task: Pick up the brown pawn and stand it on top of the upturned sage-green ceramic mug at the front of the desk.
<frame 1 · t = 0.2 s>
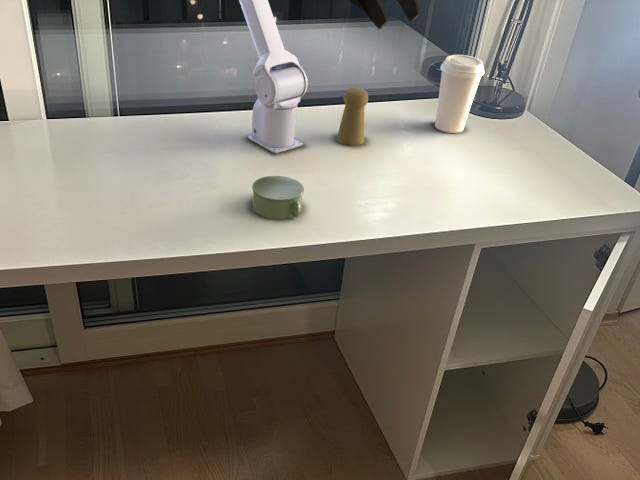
hand: (399, 21, 116), 31 cm above the table, tool tilted 45°, fingers open, 7 cm apart
brown pawn: (350, 140, 155), on the table
coffee cup: (448, 128, 163), on the table
upturned mug: (276, 207, 130), on the table
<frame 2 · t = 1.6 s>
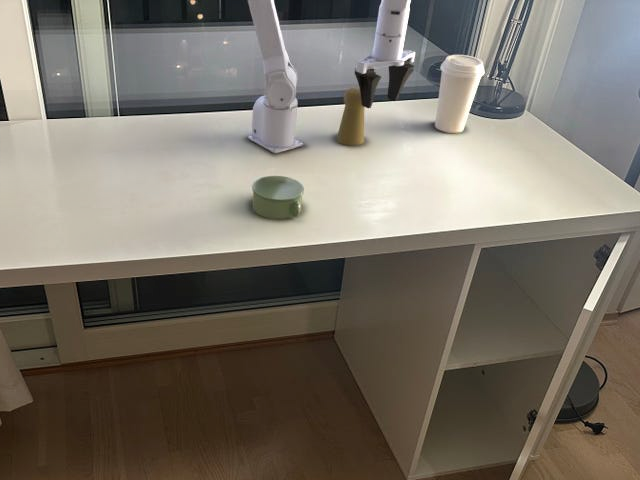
hand: (379, 103, 144), 10 cm above the table, tool pointing down, fingers open, 7 cm apart
nothing on the table moved.
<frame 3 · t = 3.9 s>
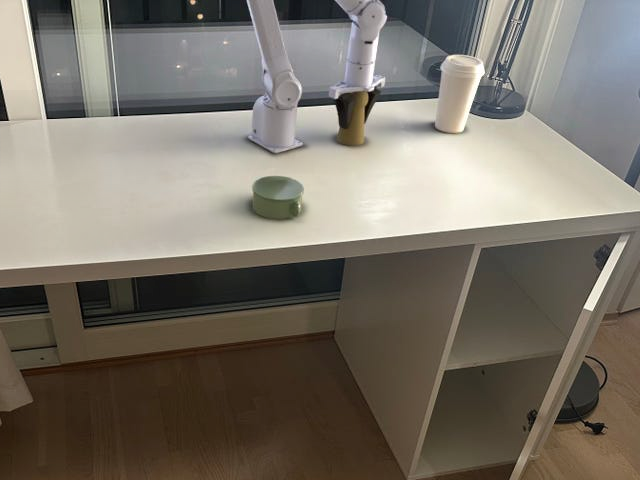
hand: (352, 125, 153), 3 cm above the table, tool pointing down, fingers closed on brown pawn, 5 cm apart
brown pawn: (350, 140, 155), on the table, touching gripper
everything else where it was.
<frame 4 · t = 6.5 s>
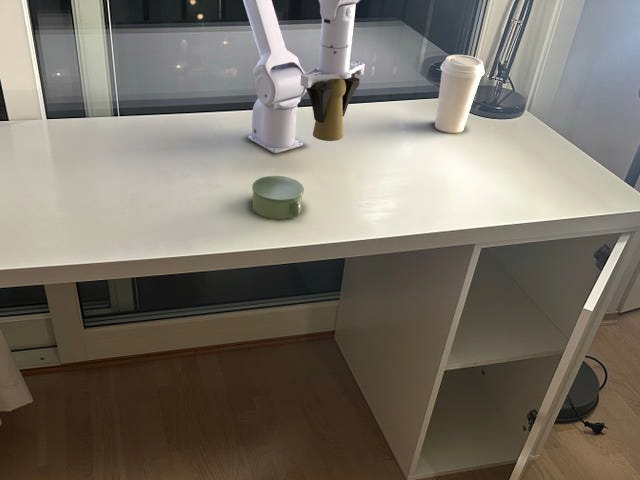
hand: (329, 118, 137), 10 cm above the table, tool pointing down, fingers closed on brown pawn, 5 cm apart
brown pawn: (327, 136, 139), point 7 cm above the table, touching gripper
everything else where it was.
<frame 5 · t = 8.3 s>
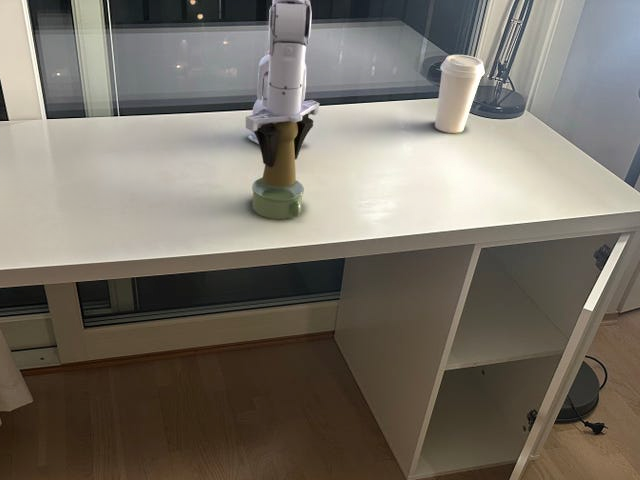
hand: (279, 161, 124), 9 cm above the table, tool pointing down, fingers closed on brown pawn, 5 cm apart
brown pawn: (279, 180, 127), point 5 cm above the table, touching gripper
everything else where it was.
when the fingers open (7 cm above the table, at t = 9.4 s): brown pawn stays where it is, resting on upturned mug.
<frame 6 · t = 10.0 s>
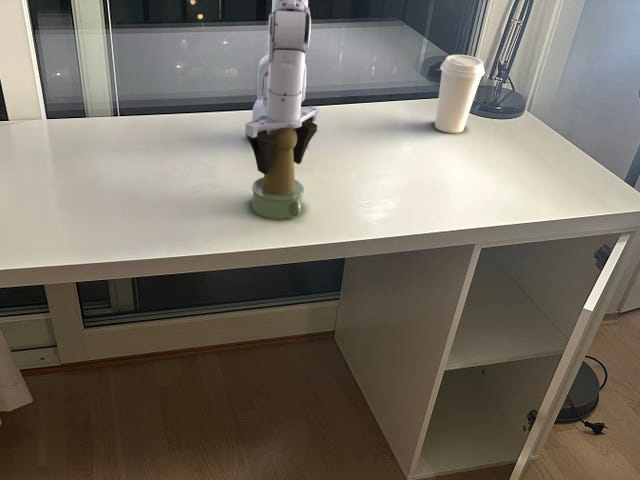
hand: (279, 166, 125), 8 cm above the table, tool pointing down, fingers open, 7 cm apart
brown pawn: (278, 188, 128), point 4 cm above the table, touching upturned mug
everything else where it was.
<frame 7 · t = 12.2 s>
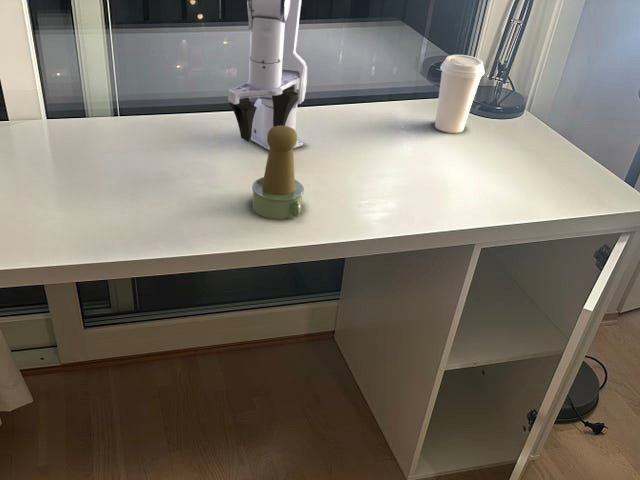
hand: (262, 134, 130), 10 cm above the table, tool pointing down, fingers open, 7 cm apart
nothing on the table moved.
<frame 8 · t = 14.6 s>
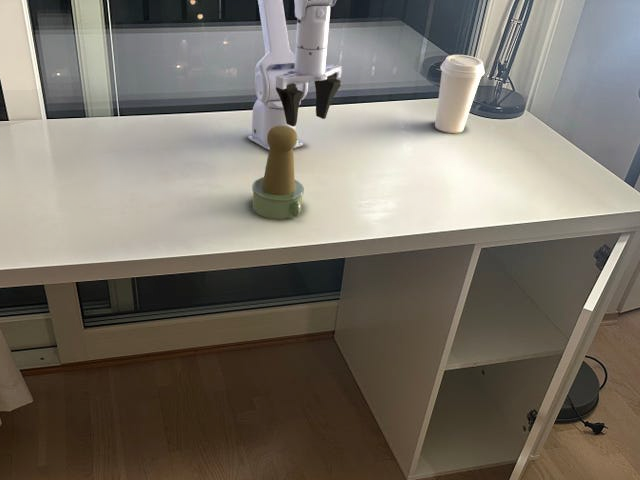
hand: (306, 120, 135), 10 cm above the table, tool pointing down, fingers open, 7 cm apart
nothing on the table moved.
at the end: brown pawn 0.1 cm off-centre on the upturned mug, point 3.8 cm above the upturned mug's base; brown pawn tilted 0°; the gripper is holding nothing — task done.
